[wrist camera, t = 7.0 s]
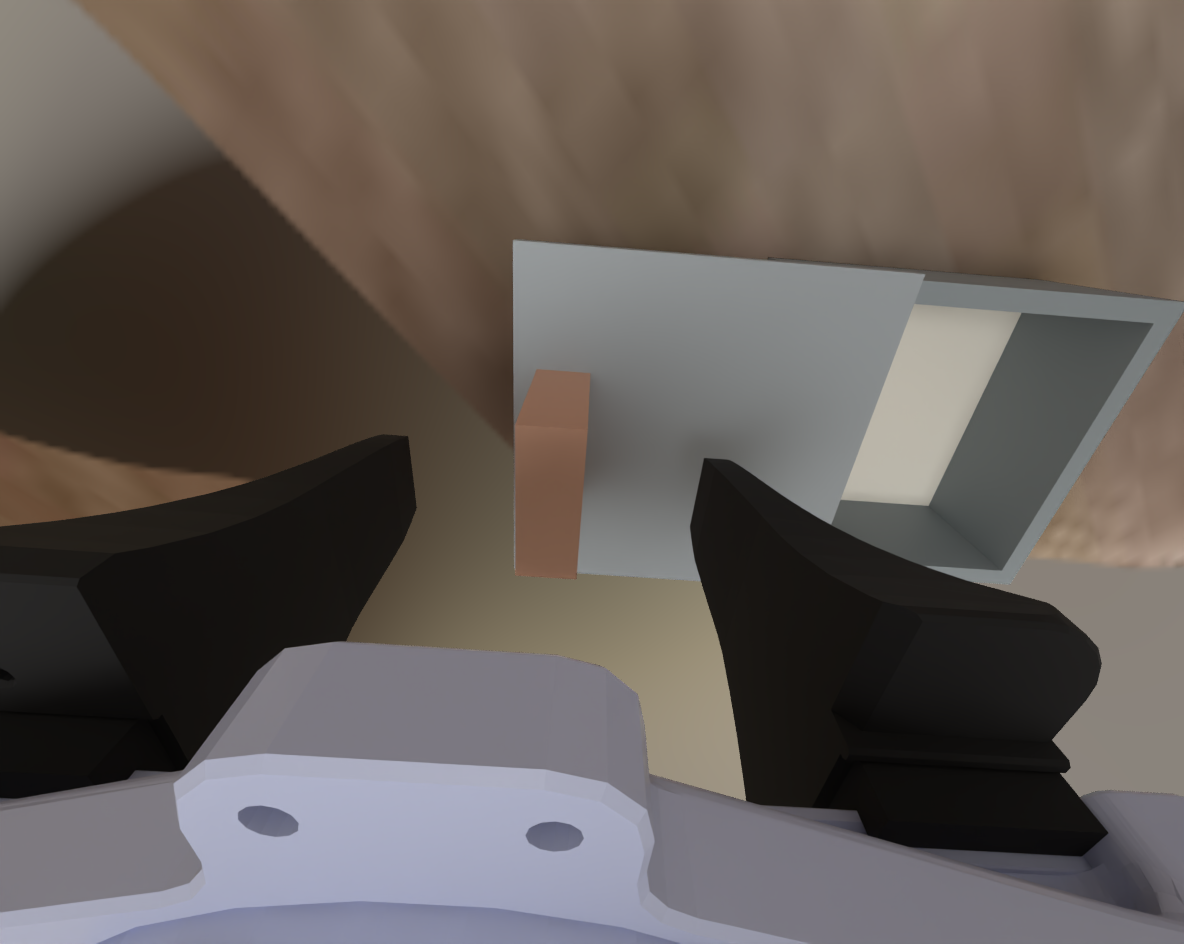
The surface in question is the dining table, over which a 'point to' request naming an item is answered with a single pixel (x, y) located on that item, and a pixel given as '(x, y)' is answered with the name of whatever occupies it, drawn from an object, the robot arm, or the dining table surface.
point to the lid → (683, 393)
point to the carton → (993, 415)
